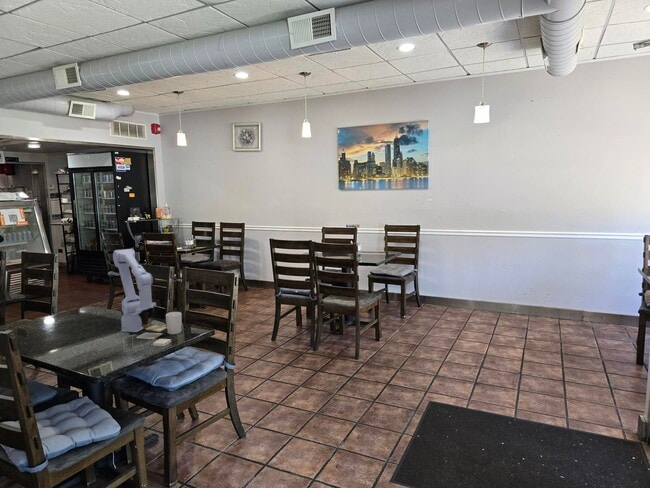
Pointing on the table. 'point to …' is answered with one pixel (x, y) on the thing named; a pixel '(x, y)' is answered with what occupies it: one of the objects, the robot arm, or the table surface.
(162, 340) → the tile
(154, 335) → the felt mat
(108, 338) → the table surface
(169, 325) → the white cup
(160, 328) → the turner
